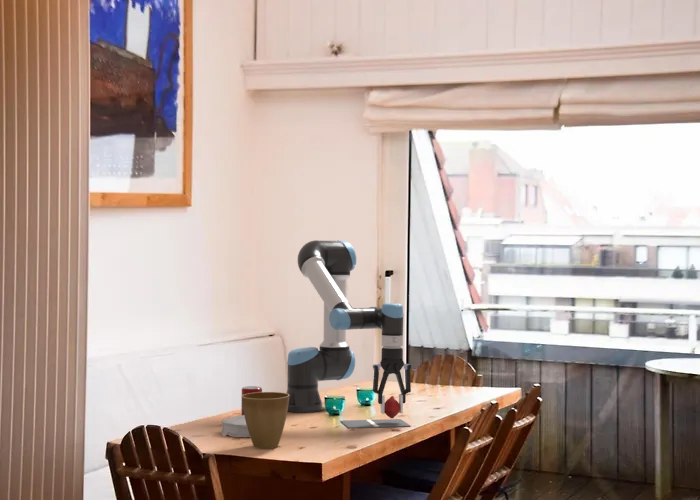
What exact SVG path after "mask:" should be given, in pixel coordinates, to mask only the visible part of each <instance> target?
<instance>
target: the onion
mask: <svg viewBox="0 0 700 500" xmlns="http://www.w3.org/2000/svg"><path fill="white" fill-rule="evenodd" d="M399 411H400V405H399V401H398V400H396V398H395V396H394V395H391V396H390V397H389V398H387V400H385V411H384V415H386V416H387V417H388V418H389V419H395V417H396V416H397V415H398V414H399Z"/></svg>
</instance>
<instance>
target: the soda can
mask: <svg viewBox="0 0 700 500" xmlns="http://www.w3.org/2000/svg"><path fill="white" fill-rule="evenodd" d="M257 392H263V388H262V387H261V386H256V385H254V386H253V385H252V386H251V385H250V386H248V385H247V386H243V387H242V388H241V396H242V395H244V394H248V393H257ZM240 400H241V405H240V406H241V409H240V410H241V411H240V412H241V413H240V414H241V415H240V416H242V415H244V411H243V405H242V399H240Z"/></svg>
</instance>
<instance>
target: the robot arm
mask: <svg viewBox="0 0 700 500" xmlns="http://www.w3.org/2000/svg"><path fill="white" fill-rule="evenodd" d="M356 254H357V253H356V250H355V248H354V247H353V245H352V244H351V243H350V242H349V241H344V240H318V239H317V240H316V239H315V240H310V241H309V242H307V243H305V244H304V245H302V247H301V248H300V250H299V252H298V255H297V266H298V269H299V271H300V272H301V274H302V275H303V277H305V278H307V279H308V280H309V282H310V284H311V285H312V287H314V289H315V290H316V293H317V294H318V295H319V297H320V298H321V299H322V301H323V341H322V342H321V343H320V344H319V347H314V346H308V347H299V348H298V347H297V348H295V349H292V350H290V351H288V355H287V362H286V364H287V389H286V392H285V393H287V394H289V404H288V410H287V412H292V413H312V412H313V413H315V412H320V411H322V410H323V402H322V399H321V396H320V392H319V382H320V381H321V382H322V381H323V382H324V381H341V380H346V379H349V378H350V377H351V375H352V374H353V373H354V371H355V367H356V355H355V353H354V351H353V350H352V349H350V344H348V342H347V341H346V340H347V339H346V332H347V331H346V330H370V329H371V330H373V329H375V330H376V329H378V330H381V347H382V348H381V360H380V362H379V363H377V364H376V363H375V364H373V365H372V368H373V381H372V382H373V383H372V385H373V387H372V392H373V393H374V394H377V403H378V404H379V405H380V414H382V415H385V412H384V411H385V402H386V399H385V397H386V395H385V394H384V390H385V387H386V384H387V380H388V378H389V375H391V374H394V375H395V376H396V379H397V383H398V388H399V390H400V393H398V403H399V405H400V411H399V413H400V414H404V409H403V406H404V405H403V404H406V395H407V394H409V393H411V392H412V389H411V388H412V386H411V385H412V384H411V369H412V365H411V364H410V363H405V362H404V359H403V358H404V357H403V355H404V349H403V346H404V307H403V304H402V303H396V302H395V303H394V302H393V303H392V302H388V303H387V302H386V303H383V304H382V305H381V307H378V306H377V307H376V306H370V307H353V306H352V305H351V304H350V302H349V301H348V299H347V279H349V278H350V277H351V272H352V271H354V269H355V267H356V264H357V255H356ZM381 368H382V369H383V372H382V377H381V380H380V383H379V378H380V377H379V375H380V370H381ZM402 369H404V378H405V379H404V380H405V381H404V380H403V377H402V373H401V370H402ZM399 413H398V414H399Z"/></svg>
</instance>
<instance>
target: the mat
mask: <svg viewBox="0 0 700 500" xmlns="http://www.w3.org/2000/svg"><path fill="white" fill-rule="evenodd" d="M340 423H341V424H342V425H344V426H345V427H346V428H347V429H350V430H351V429H374V428H375V429H376V428H378V429H380V428H383V429H384V428H409V427H411V426H412V425H410V424H409V423H408V422H406V421H405V420H403V419H402V418H388V419H386V418H385V419H353V420H352V419H351V420H349V419H347V420H343V419H342V420H340Z"/></svg>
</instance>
